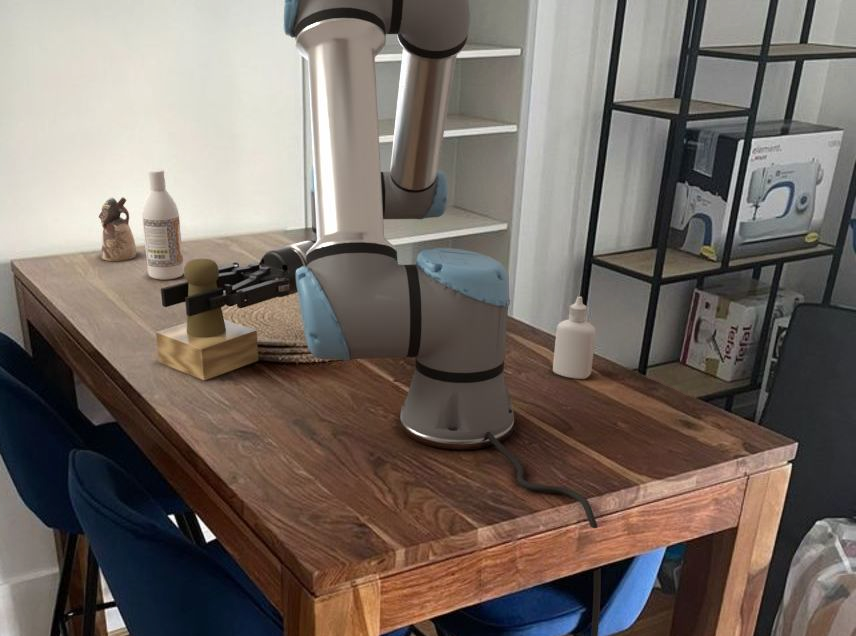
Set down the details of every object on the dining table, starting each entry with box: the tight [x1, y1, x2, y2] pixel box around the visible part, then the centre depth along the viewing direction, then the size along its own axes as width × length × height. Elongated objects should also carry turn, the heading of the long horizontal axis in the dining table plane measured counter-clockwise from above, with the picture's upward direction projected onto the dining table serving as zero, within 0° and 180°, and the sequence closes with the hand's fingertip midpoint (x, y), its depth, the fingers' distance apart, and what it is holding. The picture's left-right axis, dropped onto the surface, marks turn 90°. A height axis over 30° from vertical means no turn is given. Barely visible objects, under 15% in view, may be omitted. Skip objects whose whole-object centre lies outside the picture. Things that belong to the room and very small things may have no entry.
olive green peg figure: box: [183, 258, 226, 338], centre depth 154 cm, size 6×6×11 cm
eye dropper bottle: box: [552, 295, 596, 380], centre depth 150 cm, size 4×6×12 cm
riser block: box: [155, 318, 259, 381], centre depth 158 cm, size 11×11×5 cm
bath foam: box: [141, 168, 185, 281], centre depth 194 cm, size 7×7×20 cm
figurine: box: [98, 196, 137, 262], centre depth 208 cm, size 7×7×12 cm
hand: (175, 302), depth 150 cm, fingers open, 5 cm apart
